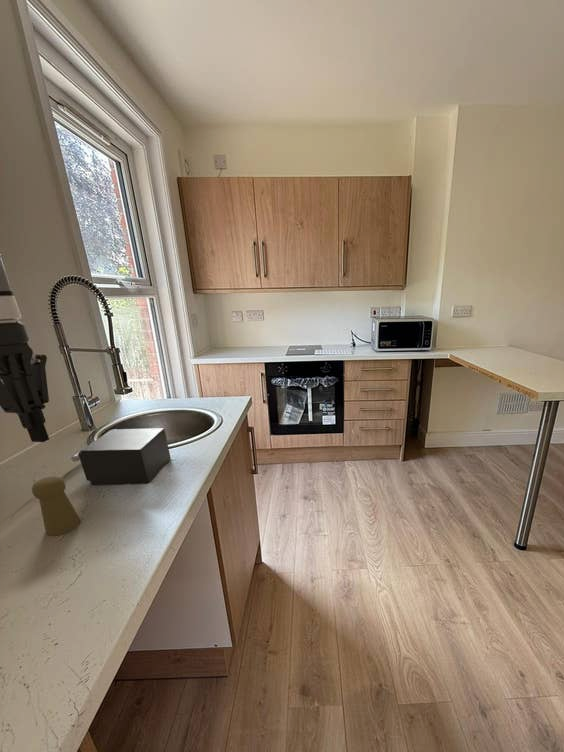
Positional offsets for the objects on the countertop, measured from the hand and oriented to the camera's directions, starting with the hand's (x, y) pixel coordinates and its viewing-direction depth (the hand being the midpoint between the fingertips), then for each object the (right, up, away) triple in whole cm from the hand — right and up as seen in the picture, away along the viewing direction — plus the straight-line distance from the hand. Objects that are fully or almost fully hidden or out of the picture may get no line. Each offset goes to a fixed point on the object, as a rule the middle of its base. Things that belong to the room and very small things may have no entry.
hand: (40, 440), depth 72 cm
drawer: (+4, -8, +21) cm, 23 cm away
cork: (+5, -18, 0) cm, 19 cm away
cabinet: (+8, -9, +21) cm, 24 cm away
